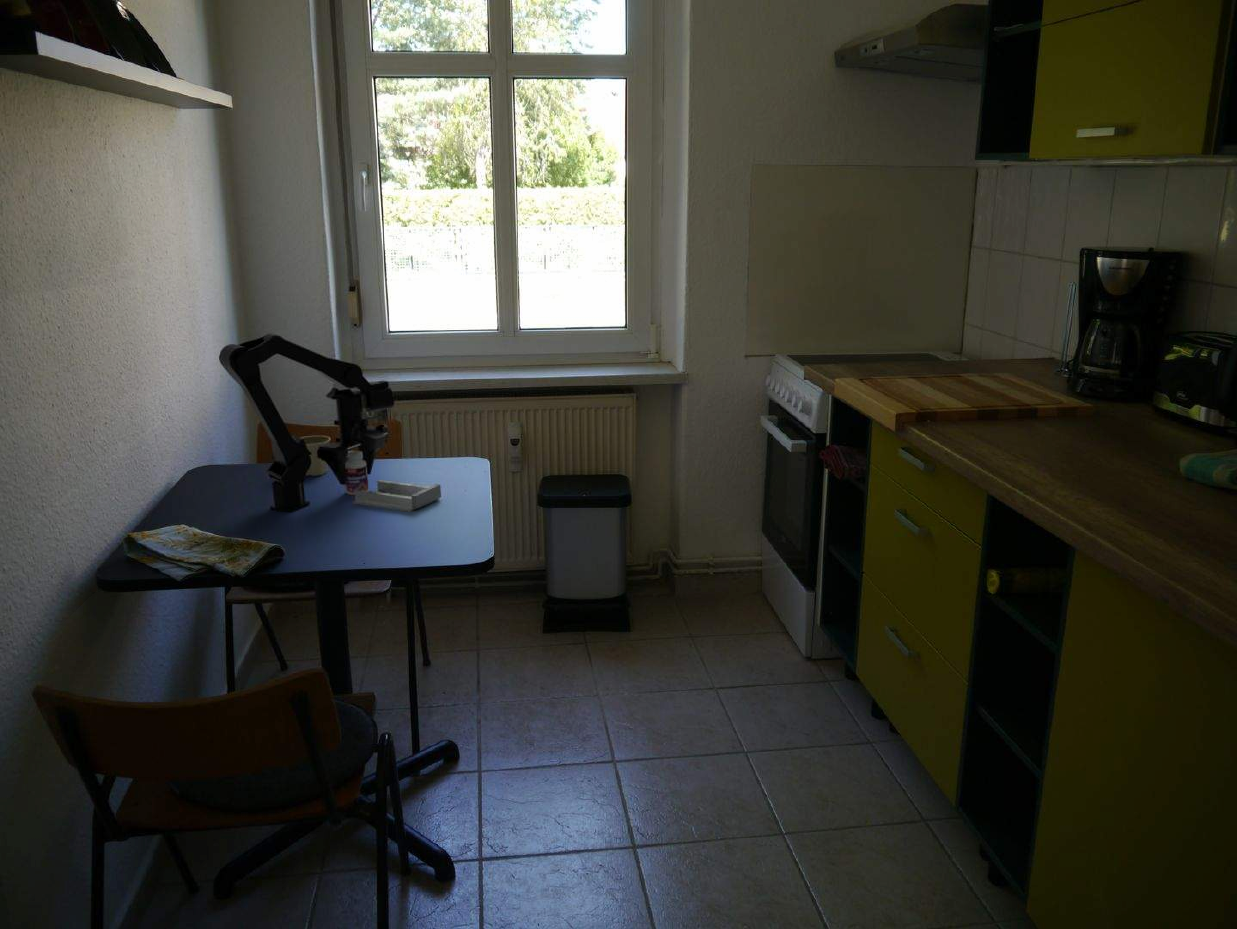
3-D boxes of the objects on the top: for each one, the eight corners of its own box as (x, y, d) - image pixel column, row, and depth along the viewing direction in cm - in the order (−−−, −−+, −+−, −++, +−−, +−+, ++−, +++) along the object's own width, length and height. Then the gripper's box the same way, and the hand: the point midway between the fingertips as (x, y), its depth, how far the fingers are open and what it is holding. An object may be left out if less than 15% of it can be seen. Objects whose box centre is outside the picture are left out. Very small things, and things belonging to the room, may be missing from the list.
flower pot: (287, 475, 260) (283, 442, 257) (313, 466, 268) (310, 434, 265) (315, 480, 256) (311, 446, 253) (341, 470, 264) (338, 437, 261)
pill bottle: (347, 496, 242) (343, 456, 239) (343, 490, 246) (340, 451, 244) (370, 493, 244) (367, 453, 241) (366, 487, 248) (363, 448, 246)
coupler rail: (414, 512, 229) (413, 497, 228) (353, 503, 236) (351, 488, 235) (443, 498, 239) (442, 483, 238) (383, 490, 246) (382, 475, 245)
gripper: (351, 427, 228) (357, 494, 233) (402, 409, 245) (407, 472, 249) (312, 422, 233) (318, 488, 237) (365, 405, 249) (370, 468, 254)
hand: (355, 479), depth 244 cm, fingers open, 9 cm apart
